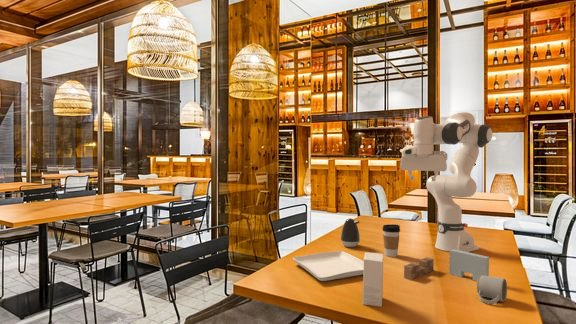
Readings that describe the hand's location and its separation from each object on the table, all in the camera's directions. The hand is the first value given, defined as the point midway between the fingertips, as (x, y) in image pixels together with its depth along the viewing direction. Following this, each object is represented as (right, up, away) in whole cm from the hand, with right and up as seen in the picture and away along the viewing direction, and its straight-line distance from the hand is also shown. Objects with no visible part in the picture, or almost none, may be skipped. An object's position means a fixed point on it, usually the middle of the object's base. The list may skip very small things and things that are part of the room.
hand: (422, 180), depth 156 cm
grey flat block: (+11, -39, -20) cm, 45 cm away
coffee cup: (-11, -38, +11) cm, 41 cm away
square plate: (-44, -39, -10) cm, 59 cm away
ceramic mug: (+8, -39, -40) cm, 57 cm away
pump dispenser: (-29, -38, +27) cm, 54 cm away
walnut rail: (-8, -38, -16) cm, 42 cm away
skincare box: (-34, -39, -42) cm, 66 cm away
